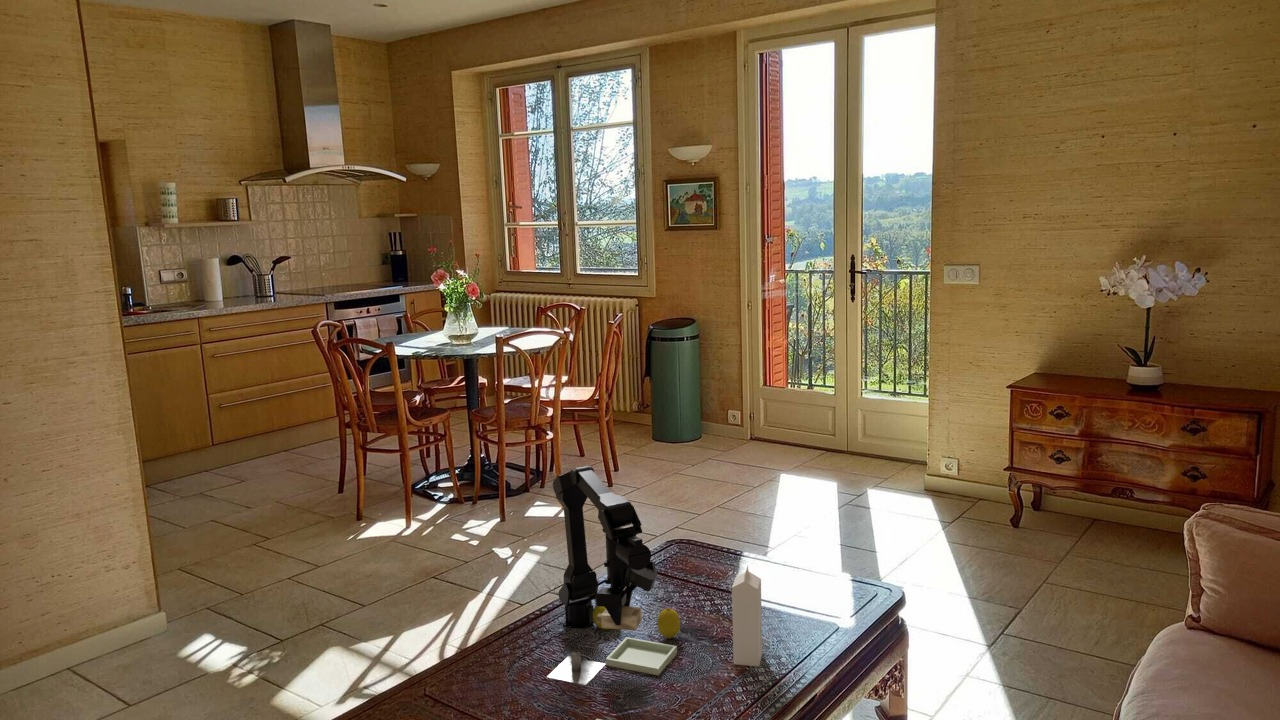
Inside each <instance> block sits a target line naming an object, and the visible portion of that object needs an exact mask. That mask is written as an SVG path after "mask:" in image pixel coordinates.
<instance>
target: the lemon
mask: <svg viewBox="0 0 1280 720" xmlns="http://www.w3.org/2000/svg"><path fill="white" fill-rule="evenodd" d="M657 628H658V631H659V633H660V635H661V636H662V637H664V638H667V639H668V640H670V639H672V638H674V637H676V636H677V635H678V634H679V631H680V629H681V619H680V615H679V613H678V612H677V611H676V610H674V609H672V608H670V607H666V608H664V609H663V610H661V612H660V613H659V615H658V616H657Z"/></svg>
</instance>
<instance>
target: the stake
mask: <svg viewBox="0 0 1280 720" xmlns="http://www.w3.org/2000/svg"><path fill="white" fill-rule="evenodd" d="M605 665H606V662H605V663H604V662H598V661H594V660H588V659H584V658H582V657H581V651H579V650H573V651H572V652H571V653H570V656H568V655H567V657H565V658H564V660H563V661H562V662H561V663H559V664H558V666H556V667H555V668H554V669H553V670H552V671H551V672H550V673H549V674H548V675H547V676H546V678H549V679H554V680H560V681H564V682H568V683H572V684H578V685H582V686H587V685H588V683H590V681H592V679H594V677H595V676H596V675H597V674H598V673H599V672H600V671H601V670H602V669H603V667H604V666H605Z"/></svg>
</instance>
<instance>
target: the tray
mask: <svg viewBox="0 0 1280 720" xmlns="http://www.w3.org/2000/svg"><path fill="white" fill-rule="evenodd" d="M677 654H678V646H677V645H673V644H667V643H662V642H657V641H650V640H645V639H638V638H633V637H629V636H626V637H625V638H624V639H623V640H622V641H621V642H620V643H619V644H618V645H617V646H616V647H615V648H614V650H613V651H612V652H611V653H610V654H609V655H608V656H607V657H606V658H605V665H606V666H608V667H612V668H617V669H623V670H629V671H633V672H638V673H643V674H648V675H653V676H660V674H661V673H662V672H663V671H664V670H665V668H666V667H667V666H668V665H669V664H671V663H672V661H673V659H675V657H676V656H677Z"/></svg>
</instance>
